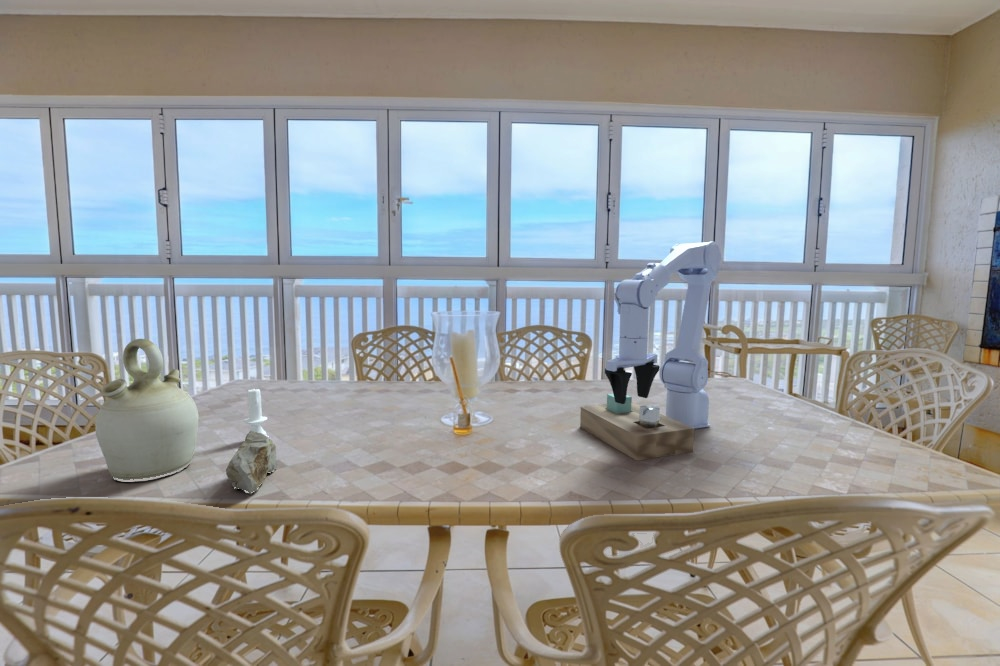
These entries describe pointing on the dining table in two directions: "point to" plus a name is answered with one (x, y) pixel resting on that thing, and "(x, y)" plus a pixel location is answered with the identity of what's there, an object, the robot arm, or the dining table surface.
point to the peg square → (618, 404)
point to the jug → (146, 419)
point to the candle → (255, 411)
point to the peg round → (649, 416)
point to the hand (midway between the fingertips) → (631, 399)
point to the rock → (252, 462)
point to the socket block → (637, 432)
